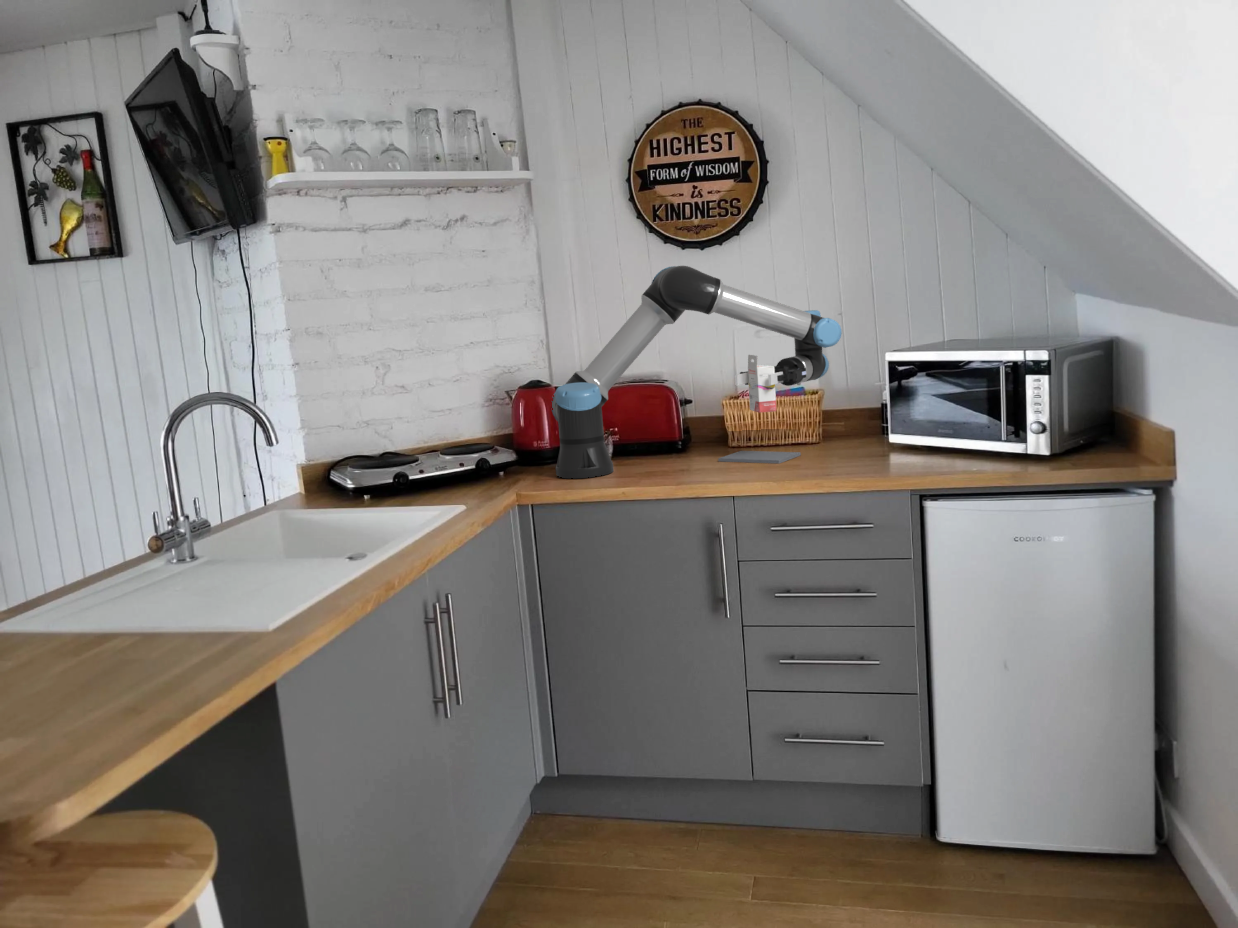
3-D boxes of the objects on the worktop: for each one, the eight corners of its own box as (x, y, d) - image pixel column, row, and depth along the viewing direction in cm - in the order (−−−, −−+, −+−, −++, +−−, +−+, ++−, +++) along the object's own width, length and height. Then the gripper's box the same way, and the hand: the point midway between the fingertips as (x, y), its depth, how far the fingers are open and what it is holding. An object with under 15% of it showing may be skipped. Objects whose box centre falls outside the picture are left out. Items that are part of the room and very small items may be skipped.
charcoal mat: (718, 461, 280) (718, 458, 280) (741, 453, 290) (740, 450, 290) (779, 463, 270) (779, 460, 270) (800, 455, 279) (800, 452, 279)
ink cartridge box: (777, 411, 273) (774, 354, 270) (759, 413, 272) (756, 356, 270) (767, 408, 281) (764, 352, 279) (749, 410, 280) (746, 354, 278)
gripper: (830, 384, 283) (791, 394, 266) (758, 384, 296) (717, 394, 279) (829, 355, 282) (790, 364, 264) (757, 358, 295) (715, 366, 277)
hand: (752, 380), depth 272 cm, fingers closed on ink cartridge box, 9 cm apart
